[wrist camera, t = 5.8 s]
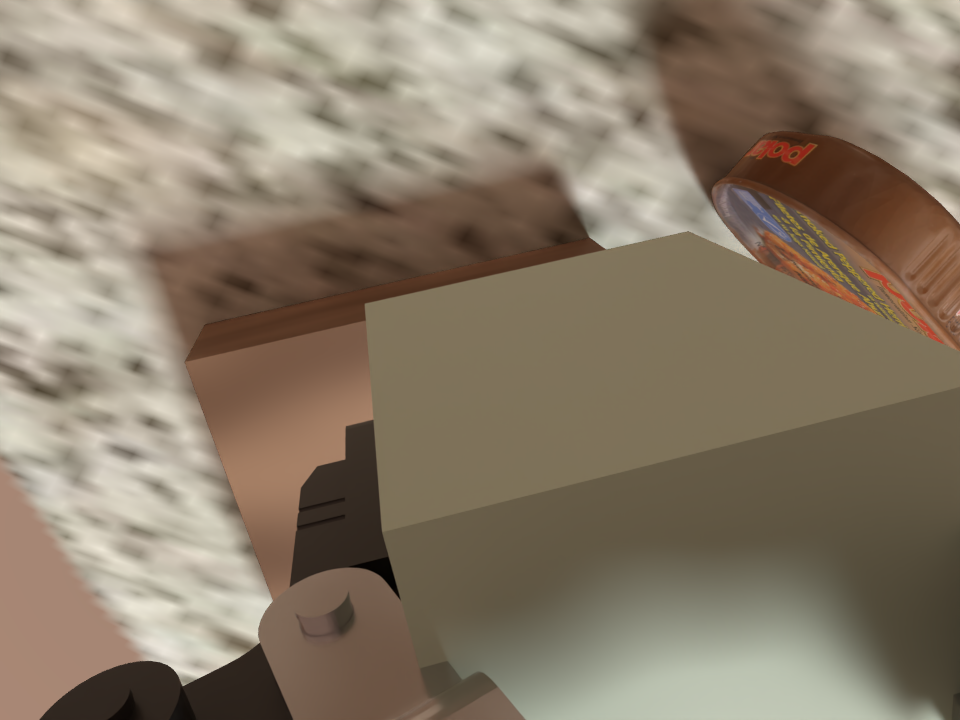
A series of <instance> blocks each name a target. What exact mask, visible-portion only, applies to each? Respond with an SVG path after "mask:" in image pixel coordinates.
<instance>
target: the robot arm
mask: <svg viewBox="0 0 960 720" xmlns="http://www.w3.org/2000/svg"><path fill="white" fill-rule="evenodd" d="M298 509H299V513H298V517H297V526H296V527H297V531H296V535H295V544H294V553H293V562H292V570H291V579H290V588H288V589H287V590H285V591H284V592H283V593H282V594H280V595H279V596H278V597H277V598H276V599H275V600H274V601H273V602H272V603H271V604H270V606H269V607H268V608H267V610H266V611H265V613H264V615H263V617H262V619H261V621H260V625H259V628H258V637H259V641H260V643H259V644H258V645H256V646H255V647H254V648H253V649H252V650H250V651H249V652H247V653H246V654H244V655H243V656H241V657H240V658H238V659H236V660H234V661H232V662H231V663H229V664H227V665H225V666H223V667H221V668H219V669H217V670H215V671H213V672H211V673H209V674H207V675H205V676H203V677H201V678H199V679H197V680H195V681H193V682H191V683H189V684H187V685H185V686H182V684H181V682H180V679H179V677H178V675H177V674H176V672H175V671H174V670H173V669H172V668H171V667H169V666H168V665H165V664H163V663H160V662H153V661H140V662H133V663H128V664H124V665H120V666H117V667H114V668H112V669H109V670H106V671H104V672H102V673H99V674H97V675H95V676H93V677H91V678H89V679H88V680H86V681H84V682H83V683H81V684H79V685H78V686H76V687H75V688H74V689H72V690H71V691H69V692H68V693H67V694H65V695H64V696H63V697H62V698H61V699H59V700H58V701H57V702H56V703H55V704H54V705H53V706H52V707H51V708H50V709H49V710H48V711H47V712H46V713H45V714H44V715H43V716H42V717H41V719H40V720H526V719H525V718H524V717H523V716H522V715H521V713H520V712H519V711H518V710H517V709H516V707H515V706H514V705H513V704H512V703H511V702H510V700H509V699H508V698H507V697H506V696H505V694H504V693H503V692H502V691H501V690H500V688H499V687H498V686H497V685H496V684H495V683H494V682H493V681H492V679H490V678H489V677H488V676H487V675H486V674H484V673H482V672H479V671H477V672H475V673H473V674H471V675H470V676H468V677H466V678H465V679H463V680H462V678H461V677H460V676H459V675H458V674H457V672H456V671H455V670H454V668H453V667H452V666H451V665H450V663H449V662H448V661H445V662H441V663H437V664H434V665H430V666H426V667H422V668H419V664H418V660H417V657H416V653H415V649H414V646H413V642H412V639H411V635H410V631H409V628H408V624H407V621H406V617H405V613H404V610H403V606H402V602H401V599H400V595H399V592H398V588H397V584H396V581H395V577H394V573H393V570H392V566H391V563H390V559H389V555H388V552H387V548H386V545H385V541H384V537H383V534H382V524H381V511H380V498H379V485H378V472H377V459H376V446H375V433H374V420H370V421H366V422H361V423H357V424H353V425H349V426H346V429H345V460H341V461H337V462H332V463H328V464H324V465H320V466H317V467H316V468H315V470H314V471H313V472H312V474H311V475H310V476H309V478H308V479H307V480H306V482H305V483H304V484H303V486H302V487H301V491H300V500H299V508H298ZM952 720H960V693H957V694H953V707H952Z"/></svg>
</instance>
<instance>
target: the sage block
mask: <svg viewBox="0 0 960 720" xmlns="http://www.w3.org/2000/svg"><path fill="white" fill-rule="evenodd" d="M365 315H366V328H367V341H368V354H369V367H370V380H371V393H372V406H373V420H374V433H375V446H376V459H377V472H378V485H379V498H380V511H381V524H382V534H383V537H384V541H385V545H386V548H387V552H388V555H389V559H390V563H391V566H392V570H393V573H394V577H395V581H396V584H397V588H398V592H399V595H400V599H401V602H402V606H403V610H404V613H405V617H406V621H407V624H408V628H409V631H410V635H411V639H412V642H413V646H414V649H415V653H416V657H417V660H418V664H419V668H422V667H426V666H430V665H434V664H437V663H441V662H445V661H448V662H449V663H450V665H451V666H452V667H453V668H454V670H455V671H456V672H457V674H458V675H459V676H460V677H461V678H462V680H463V679H465V678H466V677H468V676H470V675H471V674H473V673H475V672H477V671H479V672H482V673H484V674H486V675H487V676H488V677H489V678H490V679H492V681H493V682H494V683H495V684H496V685H497V686H498V687H499V688H500V690H501V691H502V692H503V693H504V694H505V696H506V697H507V698H508V699H509V700H510V702H511V703H512V704H513V705H514V706H515V707H516V709H517V710H518V711H519V712H520V713H521V715H522V716H523V717H524V718H525V719H526V720H952V707H953V694H957V693H960V351H958V350H956V349H953V348H951V347H949V346H946V345H944V344H942V343H940V342H937V341H935V340H933V339H931V338H928V337H926V336H924V335H922V334H919V333H917V332H915V331H913V330H910V329H908V328H906V327H903V326H901V325H899V324H897V323H894V322H892V321H890V320H888V319H885V318H883V317H881V316H879V315H876V314H874V313H872V312H870V311H867V310H865V309H863V308H861V307H858V306H856V305H854V304H851V303H849V302H847V301H845V300H842V299H840V298H838V297H836V296H833V295H831V294H829V293H827V292H824V291H822V290H820V289H818V288H815V287H813V286H811V285H808V284H806V283H804V282H802V281H799V280H797V279H795V278H793V277H790V276H788V275H786V274H784V273H781V272H779V271H777V270H775V269H772V268H770V267H768V266H765V265H763V264H761V263H759V262H756V261H754V260H752V259H750V258H747V257H745V256H743V255H741V254H738V253H736V252H734V251H732V250H729V249H727V248H725V247H723V246H720V245H718V244H716V243H713V242H711V241H709V240H707V239H704V238H702V237H700V236H698V235H695V234H693V233H691V232H689V231H687V232H683V233H678V234H674V235H670V236H665V237H661V238H656V239H652V240H647V241H643V242H638V243H634V244H629V245H625V246H620V247H616V248H611V249H607V250H603V251H598V252H594V253H589V254H585V255H580V256H576V257H571V258H567V259H562V260H558V261H553V262H549V263H545V264H540V265H536V266H531V267H527V268H522V269H518V270H513V271H509V272H504V273H500V274H495V275H491V276H487V277H482V278H478V279H473V280H469V281H464V282H460V283H455V284H451V285H446V286H442V287H437V288H433V289H429V290H424V291H420V292H415V293H411V294H406V295H402V296H397V297H393V298H388V299H384V300H379V301H375V302H370V303H366V304H365Z"/></svg>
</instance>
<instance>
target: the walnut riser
mask: <svg viewBox="0 0 960 720" xmlns="http://www.w3.org/2000/svg"><path fill="white" fill-rule="evenodd" d="M603 250H606V249H605V248H603V247H602V246H600V245H599V244H598V243H596V242H595V241H593V240H592V239H591V238H587V239H583V240H578V241H574V242H569V243H565V244H560V245H556V246H552V247H547V248H543V249H538V250H534V251H529V252H525V253H521V254H516V255H512V256H507V257H503V258H498V259H494V260H490V261H485V262H481V263H476V264H472V265H467V266H463V267H459V268H454V269H450V270H445V271H441V272H436V273H432V274H428V275H423V276H419V277H414V278H410V279H405V280H401V281H397V282H392V283H388V284H383V285H379V286H374V287H370V288H366V289H361V290H357V291H352V292H348V293H343V294H339V295H335V296H330V297H326V298H321V299H317V300H312V301H308V302H304V303H299V304H295V305H290V306H286V307H281V308H277V309H273V310H268V311H264V312H259V313H255V314H250V315H246V316H242V317H237V318H233V319H228V320H224V321H219V322H215V323H211V324H206V325H205V326H204V327H203V329H202V331H201V333H200V335H199V337H198V339H197V340H196V342H195V344H194V346H193V348H192V350H191V352H190V353H189V355H188V357H187V359H186V361H185V364H186V367H187V370H188V372H189V375H190V378H191V380H192V383H193V386H194V388H195V391H196V394H197V396H198V399H199V402H200V405H201V407H202V410H203V413H204V415H205V418H206V421H207V423H208V426H209V429H210V432H211V434H212V437H213V440H214V442H215V445H216V448H217V450H218V453H219V456H220V459H221V461H222V464H223V467H224V469H225V472H226V475H227V477H228V480H229V483H230V485H231V488H232V491H233V494H234V496H235V499H236V502H237V504H238V507H239V510H240V512H241V515H242V518H243V521H244V523H245V526H246V529H247V531H248V534H249V537H250V539H251V542H252V545H253V547H254V550H255V553H256V556H257V558H258V561H259V564H260V566H261V569H262V572H263V574H264V577H265V580H266V583H267V585H268V588H269V591H270V593H271V596H272V599H273V601H274V600H275V599H276V598H277V597H278V596H279V595H280V594H282V593H283V592H284V591H285V590H287V589H288V588H290V579H291V570H292V562H293V553H294V544H295V535H296V531H297V527H296V526H297V517H298V513H299V509H298V508H299V500H300V491H301V487H302V486H303V484H304V483H305V482H306V480H307V479H308V478H309V476H310V475H311V474H312V472H313V471H314V470H315V468H316V467H317V466H320V465H324V464H328V463H332V462H337V461H341V460H345V429H346V426H349V425H353V424H357V423H361V422H366V421H370V420H373V406H372V393H371V380H370V367H369V354H368V341H367V328H366V315H365V304H366V303H370V302H375V301H379V300H384V299H388V298H393V297H397V296H402V295H406V294H411V293H415V292H420V291H424V290H429V289H433V288H437V287H442V286H446V285H451V284H455V283H460V282H464V281H469V280H473V279H478V278H482V277H487V276H491V275H495V274H500V273H504V272H509V271H513V270H518V269H522V268H527V267H531V266H536V265H540V264H545V263H549V262H553V261H558V260H562V259H567V258H571V257H576V256H580V255H585V254H589V253H594V252H598V251H603Z"/></svg>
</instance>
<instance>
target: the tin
mask: <svg viewBox="0 0 960 720" xmlns="http://www.w3.org/2000/svg"><path fill="white" fill-rule="evenodd" d="M711 195H712V200H713V204H714V207H715V209H716V211H717V213H718V214H719V216H720V218H721V219H722V221H723V222H724V223H725V225H726V226H727V227H728V229H729V230H730V231H731V232H732V233H733V234H734V236H735V237H736V238H737V239H738V240H739V241H740V243H741V244H742V245H743V246H744V247H745V248H746V249H747V250H748V251H749V252H750V253H751V254H752V255H753V256H754V257H755V258H756V259H757V260H758V261H759V263H761V264H763V265H765V266H768V267H770V268H772V269H775V270H777V271H779V272H781V273H784V274H786V275H788V276H790V277H793V278H795V279H797V280H799V281H802V282H804V283H806V284H808V285H811V286H813V287H815V288H818V289H820V290H822V291H824V292H827V293H829V294H831V295H833V296H836V297H838V298H840V299H842V300H845V301H847V302H849V303H851V304H854V305H856V306H858V307H861V308H863V309H865V310H867V311H870V312H872V313H874V314H876V315H879V316H881V317H883V318H885V319H888V320H890V321H892V322H894V323H897V324H899V325H901V326H903V327H906V328H908V329H910V330H913V331H915V332H917V333H919V334H922V335H924V336H926V337H928V338H931V339H933V340H935V341H937V342H940V343H942V344H944V345H946V346H949V347H951V348H953V349H956V350H958V351H960V224H959V223H958V222H957V220H956V219H955V218H954V217H953V216H952V215H951V214H950V213H949V212H948V211H947V210H946V209H945V208H944V207H943V206H942V205H941V204H940V203H939V202H938V201H937V200H936V199H935V198H934V197H933V196H931V195H930V194H929V193H928V192H927V191H926V190H924V189H923V188H922V187H921V186H920V185H918V184H917V183H916V182H915V181H913V180H912V179H911V178H910V177H908V176H907V175H905V174H904V173H902V172H901V171H899V170H898V169H896V168H895V167H893V166H892V165H890V164H889V163H887V162H886V161H884V160H882V159H881V158H879V157H877V156H875V155H873V154H872V153H870V152H868V151H866V150H864V149H862V148H860V147H857V146H855V145H853V144H851V143H849V142H846V141H844V140H841V139H838V138H834V137H830V136H824V135H813V134H805V133H799V132H789V131H780V132H773V133H768V134H766V135H764V136H763V137H762V138H761V139H759V140H758V141H757V142H756V143H755V144H754V145H753V146H752V147H751V149H750V150H749V151H748V152H747V153H746V154H745V155H744V156H743V157H742V159H741V160H740V161H739V162H738V163H737V164H736V165H735V166H734V168H733V169H732V170H731V171H730V172H729V173H728V175H727V176H726V177H725V178H723V179H721V180H719V181H717V182H716V183H715V184H714V186H713V188H712V191H711Z"/></svg>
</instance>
